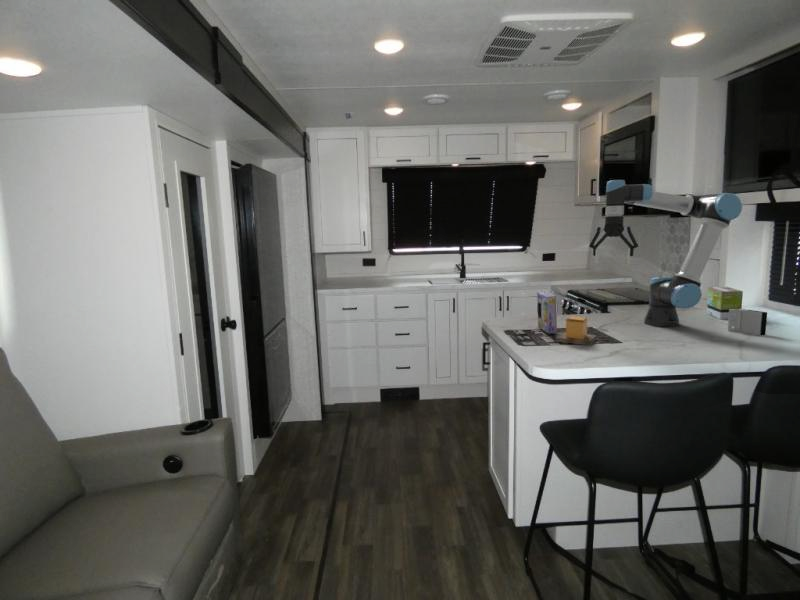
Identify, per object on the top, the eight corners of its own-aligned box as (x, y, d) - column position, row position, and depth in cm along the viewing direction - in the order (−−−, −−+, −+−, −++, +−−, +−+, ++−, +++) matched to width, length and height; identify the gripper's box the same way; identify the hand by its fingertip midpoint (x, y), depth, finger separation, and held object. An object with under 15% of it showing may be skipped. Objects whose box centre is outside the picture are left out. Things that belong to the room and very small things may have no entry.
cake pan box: (536, 325, 245) (536, 290, 242) (546, 325, 245) (546, 290, 242) (546, 334, 226) (546, 296, 223) (557, 334, 226) (558, 296, 223)
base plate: (596, 339, 213) (596, 335, 213) (589, 345, 204) (589, 341, 203) (563, 336, 221) (563, 332, 221) (555, 342, 211) (555, 337, 211)
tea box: (705, 314, 262) (707, 286, 260) (726, 314, 261) (728, 286, 258) (719, 319, 247) (722, 290, 245) (741, 319, 246) (744, 290, 244)
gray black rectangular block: (726, 331, 223) (728, 309, 222) (731, 329, 226) (733, 307, 225) (763, 336, 212) (765, 313, 211) (767, 334, 215) (769, 311, 214)
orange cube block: (586, 335, 213) (587, 317, 212) (582, 338, 207) (583, 320, 206) (570, 333, 217) (570, 316, 216) (565, 337, 211) (566, 318, 210)
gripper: (583, 216, 223) (581, 263, 226) (644, 214, 209) (641, 264, 212) (587, 216, 229) (585, 262, 232) (646, 214, 215) (644, 263, 218)
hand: (612, 263), depth 222 cm, fingers open, 13 cm apart
